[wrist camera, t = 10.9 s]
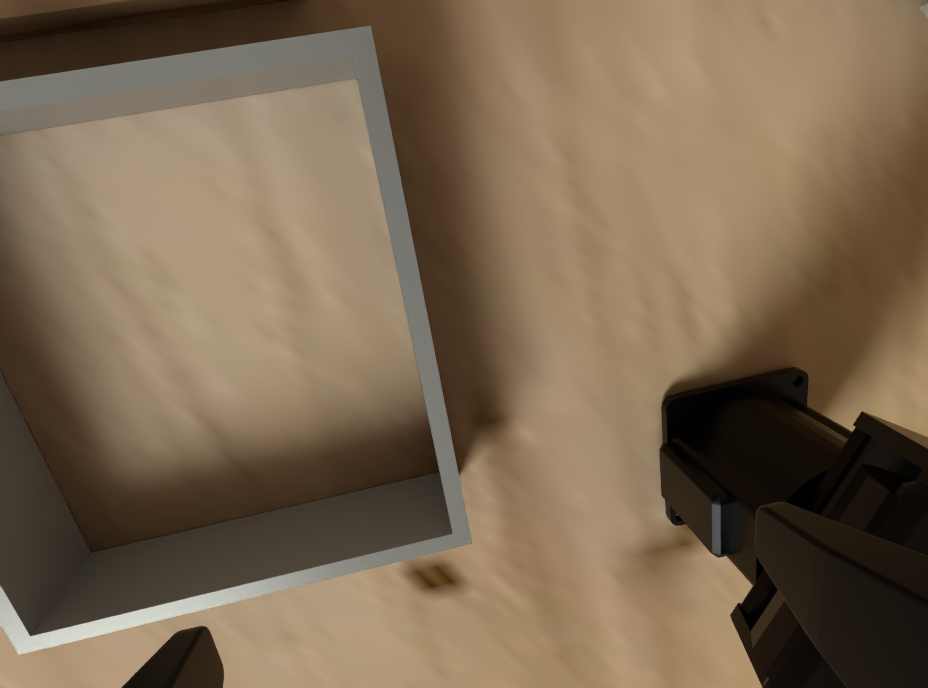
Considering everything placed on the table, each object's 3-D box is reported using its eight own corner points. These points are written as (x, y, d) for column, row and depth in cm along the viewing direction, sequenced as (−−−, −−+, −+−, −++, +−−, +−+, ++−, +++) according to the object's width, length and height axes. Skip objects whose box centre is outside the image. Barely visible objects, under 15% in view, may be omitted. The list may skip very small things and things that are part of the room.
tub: (371, 54, 17) (370, 25, 14) (456, 480, 23) (472, 543, 19) (-141, 135, 16) (-302, 127, 12) (81, 568, 21) (19, 654, 18)
